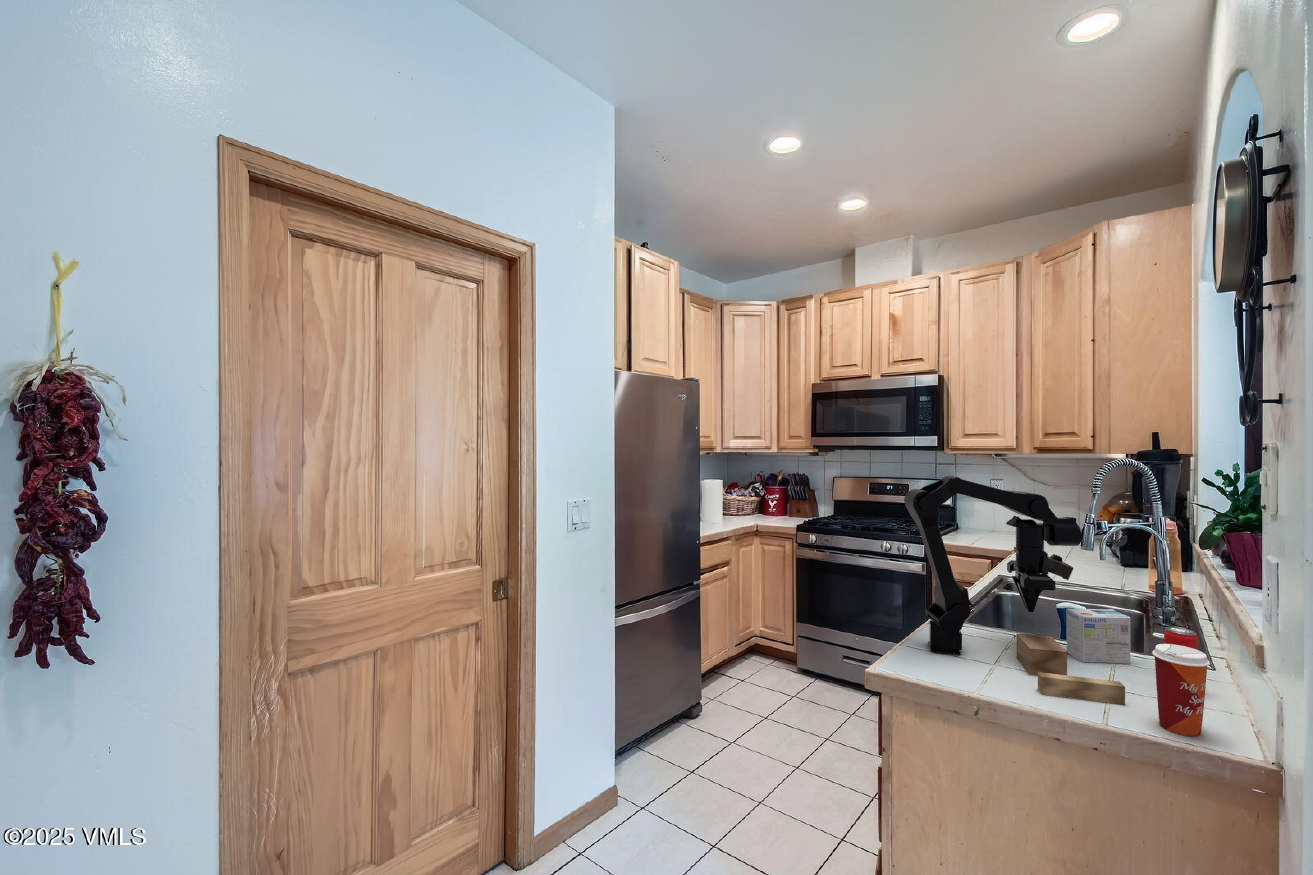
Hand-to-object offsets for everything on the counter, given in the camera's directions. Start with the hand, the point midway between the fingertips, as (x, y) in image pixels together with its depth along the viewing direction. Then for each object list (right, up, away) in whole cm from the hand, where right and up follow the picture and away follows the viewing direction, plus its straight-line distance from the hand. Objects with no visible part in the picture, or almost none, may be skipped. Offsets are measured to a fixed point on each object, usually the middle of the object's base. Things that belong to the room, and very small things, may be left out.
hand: (1029, 610), depth 142 cm
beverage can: (+18, -10, -20) cm, 29 cm away
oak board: (-5, -10, -24) cm, 26 cm away
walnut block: (-3, -10, -9) cm, 14 cm away
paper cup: (+4, -11, -36) cm, 38 cm away
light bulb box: (+14, -10, -4) cm, 17 cm away
